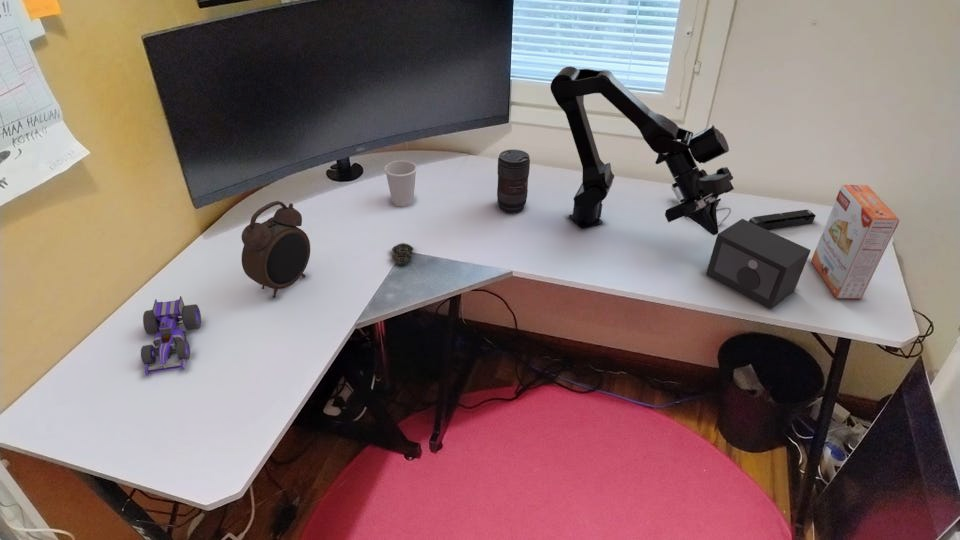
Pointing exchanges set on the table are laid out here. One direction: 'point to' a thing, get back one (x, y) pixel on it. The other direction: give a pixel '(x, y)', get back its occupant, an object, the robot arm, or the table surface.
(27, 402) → the table surface
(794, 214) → the tablet stand
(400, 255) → the corroded twin loop
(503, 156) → the camera lens
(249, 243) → the alarm clock
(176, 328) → the toy race car
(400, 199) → the dixie cup
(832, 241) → the cracker box
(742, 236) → the speaker
